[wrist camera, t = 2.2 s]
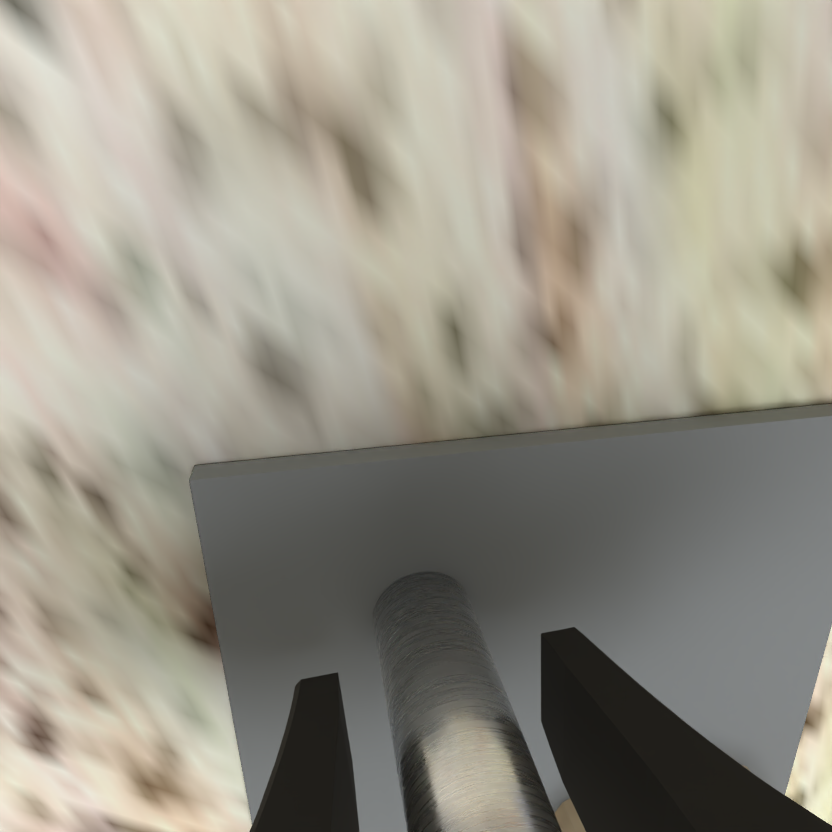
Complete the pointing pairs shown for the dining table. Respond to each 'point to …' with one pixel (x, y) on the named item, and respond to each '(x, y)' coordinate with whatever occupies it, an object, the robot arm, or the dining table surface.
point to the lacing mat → (535, 576)
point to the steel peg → (452, 716)
